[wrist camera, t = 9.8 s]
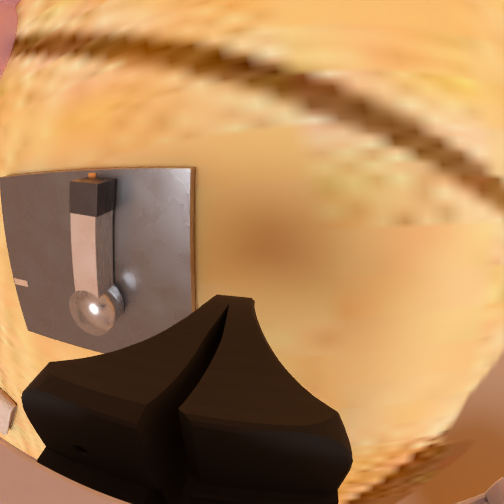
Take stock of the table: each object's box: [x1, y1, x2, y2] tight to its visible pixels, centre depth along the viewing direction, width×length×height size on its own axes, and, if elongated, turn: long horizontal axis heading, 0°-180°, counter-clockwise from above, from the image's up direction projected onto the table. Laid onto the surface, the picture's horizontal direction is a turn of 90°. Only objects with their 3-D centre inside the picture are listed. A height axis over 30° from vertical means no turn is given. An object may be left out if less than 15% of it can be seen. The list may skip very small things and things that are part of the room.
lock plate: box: [0, 167, 196, 353], centre depth 21 cm, size 15×18×1 cm
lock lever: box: [69, 177, 124, 336], centre depth 19 cm, size 11×4×2 cm, turn 171°
